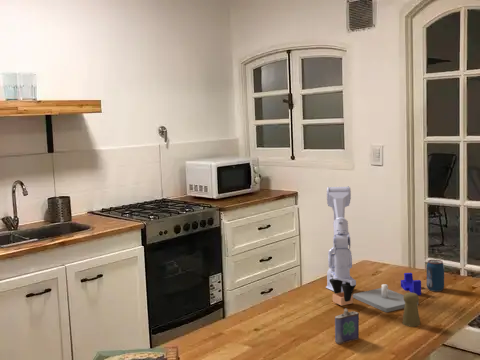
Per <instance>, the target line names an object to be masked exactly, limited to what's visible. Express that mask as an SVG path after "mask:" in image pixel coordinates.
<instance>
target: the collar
mask: <svg viewBox="0 0 480 360" xmlns="http://www.w3.org/2000/svg"><path fill="white" fill-rule="evenodd" d="M332 302H333V303H335V304H337V305H340V307H341V306H345V305H350V304H353V303H354V298H353V294H352V295H351V299H350V301H347V302H346V301H345V299H344V292H340V293H336V294H335V293H332Z"/></svg>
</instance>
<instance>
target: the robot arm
mask: <svg viewBox="0 0 480 360" xmlns="http://www.w3.org/2000/svg"><path fill="white" fill-rule="evenodd" d="M351 190H352V189H351V186H327V187H326V203H327V206H328V207H330V208H331V209H332V211H333V223H332V224H333V236H332V247H331V248H330V249H328V252H327V256H328V257H327V261H328V262H327V264H328V267H327V268H328V269H327V272H326V280H327V281H326V283H327V284H326V286H325V288H326V289H328V290H330V291H333V292H334V293H333V294H336V293H340V292H344V299H345V301H346V302H347V301H350V299H351V295H353V292H354V289H355V288H356V285H357V280H356V279H354V277H352V276H351V274H350V273H351V271H350V269H352V268H353V257H352V255H353V254H352V250H351V246H352V244H351V235H350V231H349V222H348V220H347V219H346V218H345V213H346V212H345V209H346V208H347V207H349V206H350V203H351V199H352V197H351V196H352V195H351V194H352V191H351Z"/></svg>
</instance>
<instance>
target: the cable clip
mask: <svg viewBox="0 0 480 360" xmlns="http://www.w3.org/2000/svg"><path fill="white" fill-rule="evenodd" d="M403 275H404V277H403V279H401V280H400V287H401V289H403V291H406V292H412V293H416V294H417V295H418V296H422V281H421V279H415V280H414V278H413V273H412V272H404V274H403Z"/></svg>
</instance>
